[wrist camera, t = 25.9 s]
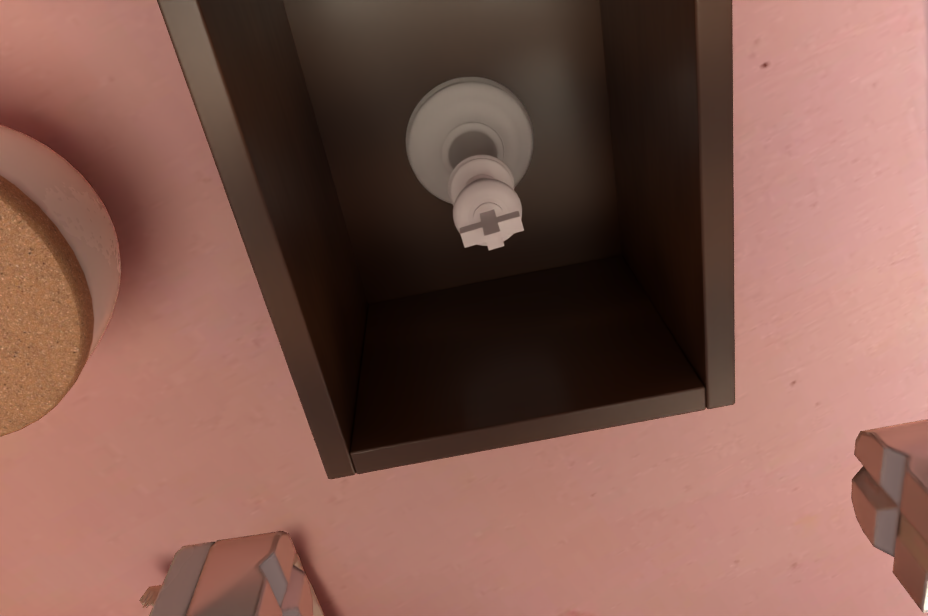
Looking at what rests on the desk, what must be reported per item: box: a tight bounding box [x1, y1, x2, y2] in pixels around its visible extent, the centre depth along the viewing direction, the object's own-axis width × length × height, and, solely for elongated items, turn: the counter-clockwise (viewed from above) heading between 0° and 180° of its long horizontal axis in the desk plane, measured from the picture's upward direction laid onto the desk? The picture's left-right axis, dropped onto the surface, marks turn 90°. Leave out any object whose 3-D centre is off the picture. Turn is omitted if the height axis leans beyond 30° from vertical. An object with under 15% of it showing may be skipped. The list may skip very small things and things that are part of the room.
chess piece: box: [406, 77, 533, 250], centre depth 23 cm, size 5×5×10 cm
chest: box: [157, 0, 735, 479], centre depth 23 cm, size 16×13×11 cm
